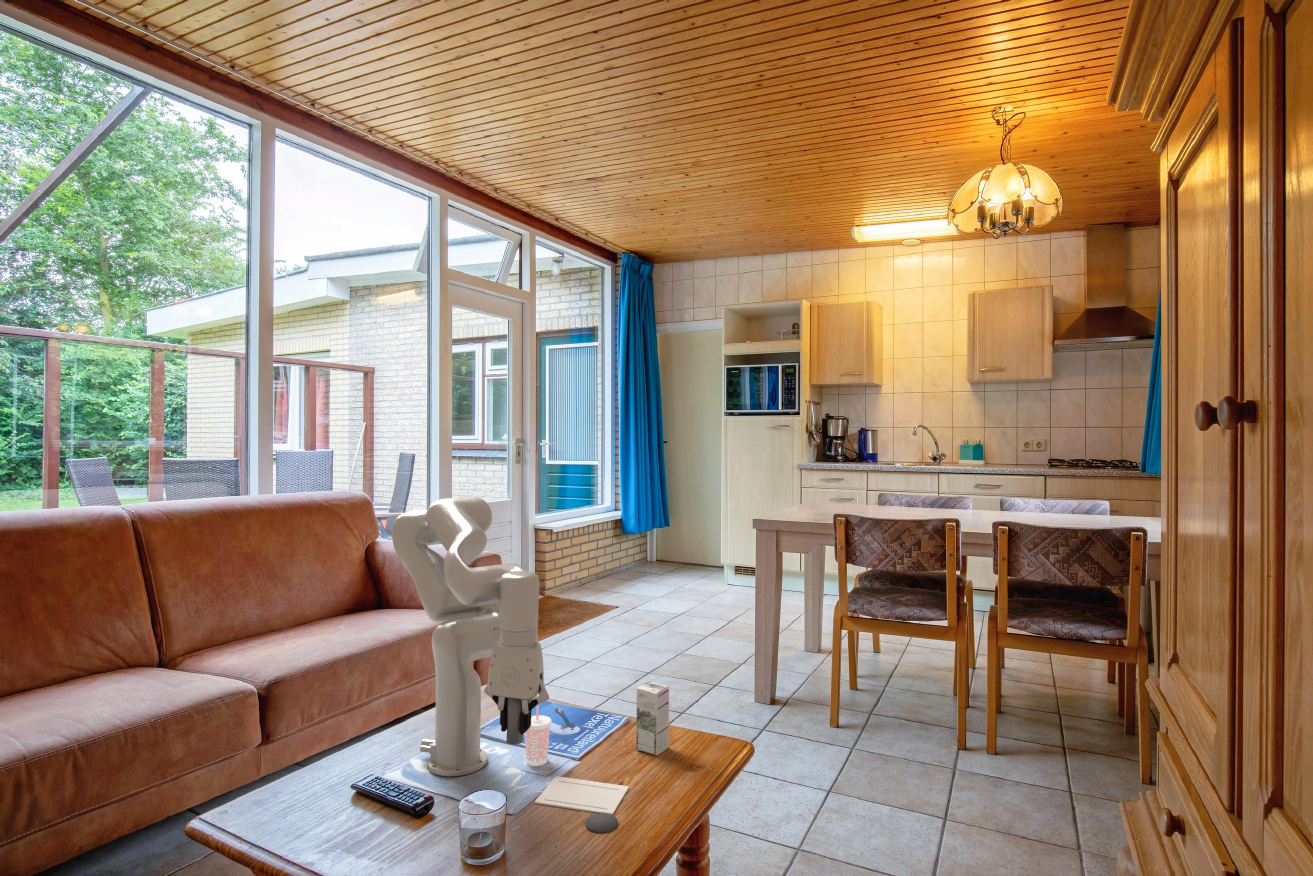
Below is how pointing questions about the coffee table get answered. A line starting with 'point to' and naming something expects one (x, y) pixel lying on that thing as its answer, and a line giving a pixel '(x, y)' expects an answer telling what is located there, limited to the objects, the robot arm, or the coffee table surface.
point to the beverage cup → (537, 739)
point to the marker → (514, 721)
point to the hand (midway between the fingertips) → (515, 729)
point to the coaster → (601, 823)
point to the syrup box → (652, 718)
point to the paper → (582, 795)
